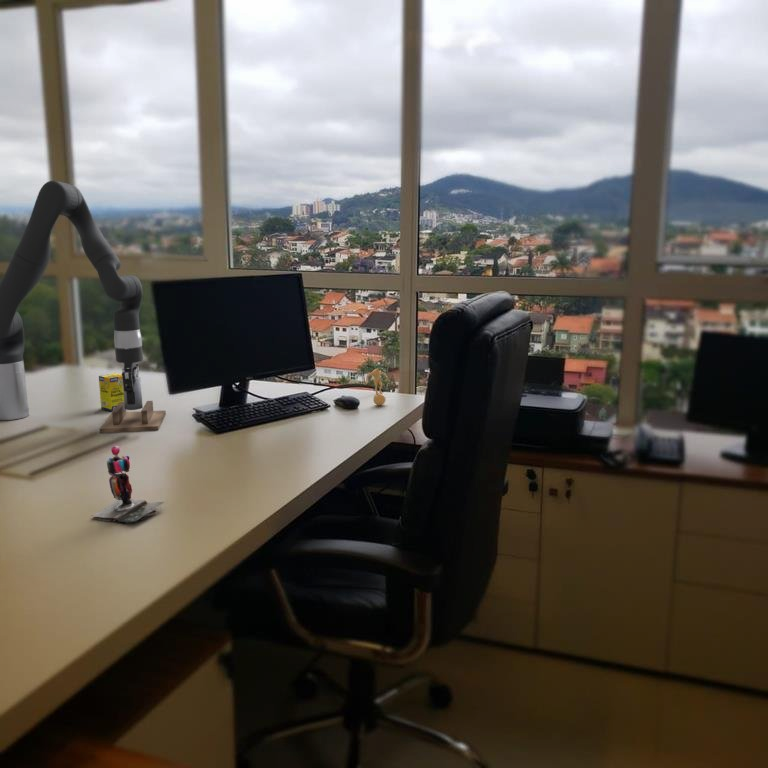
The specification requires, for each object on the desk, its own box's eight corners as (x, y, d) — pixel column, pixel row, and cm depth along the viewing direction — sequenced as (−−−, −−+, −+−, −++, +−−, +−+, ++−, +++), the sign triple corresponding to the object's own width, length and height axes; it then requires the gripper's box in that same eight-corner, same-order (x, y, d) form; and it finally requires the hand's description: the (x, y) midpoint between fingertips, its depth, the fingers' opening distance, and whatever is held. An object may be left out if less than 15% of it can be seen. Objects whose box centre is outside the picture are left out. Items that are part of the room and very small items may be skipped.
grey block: (123, 410, 215) (120, 380, 213) (126, 406, 219) (123, 376, 217) (141, 409, 215) (139, 379, 213) (143, 405, 220) (141, 376, 218)
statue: (92, 524, 148) (77, 453, 146) (124, 507, 157) (110, 440, 154) (135, 526, 144) (121, 453, 142) (165, 508, 153) (152, 439, 150)
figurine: (369, 407, 236) (369, 371, 233) (363, 403, 241) (362, 367, 239) (393, 405, 239) (393, 369, 236) (386, 401, 244) (386, 366, 242)
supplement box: (111, 412, 231) (108, 378, 229) (100, 409, 235) (97, 375, 232) (128, 408, 236) (125, 374, 233) (117, 405, 239) (114, 372, 237)
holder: (99, 432, 208) (98, 415, 207) (111, 416, 226) (110, 400, 224) (158, 430, 211) (157, 412, 210) (165, 414, 228) (164, 397, 227)
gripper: (119, 341, 220) (123, 396, 223) (110, 349, 206) (115, 408, 209) (145, 340, 221) (149, 395, 224) (138, 348, 207) (142, 407, 211)
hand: (133, 401), depth 217 cm, fingers closed on grey block, 5 cm apart
